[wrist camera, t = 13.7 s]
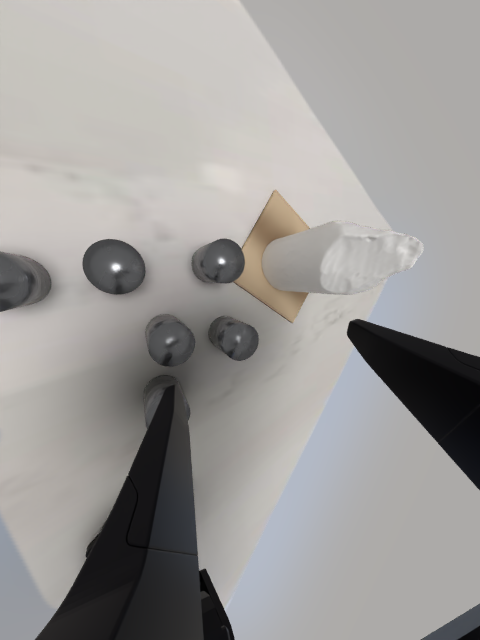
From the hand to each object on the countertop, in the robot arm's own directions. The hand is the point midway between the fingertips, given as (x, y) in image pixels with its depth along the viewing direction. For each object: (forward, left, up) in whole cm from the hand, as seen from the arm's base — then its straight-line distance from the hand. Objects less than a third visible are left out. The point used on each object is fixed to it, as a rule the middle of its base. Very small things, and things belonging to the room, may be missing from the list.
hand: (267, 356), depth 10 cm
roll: (-2, -10, -11) cm, 15 cm away
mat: (-2, -11, -11) cm, 15 cm away
